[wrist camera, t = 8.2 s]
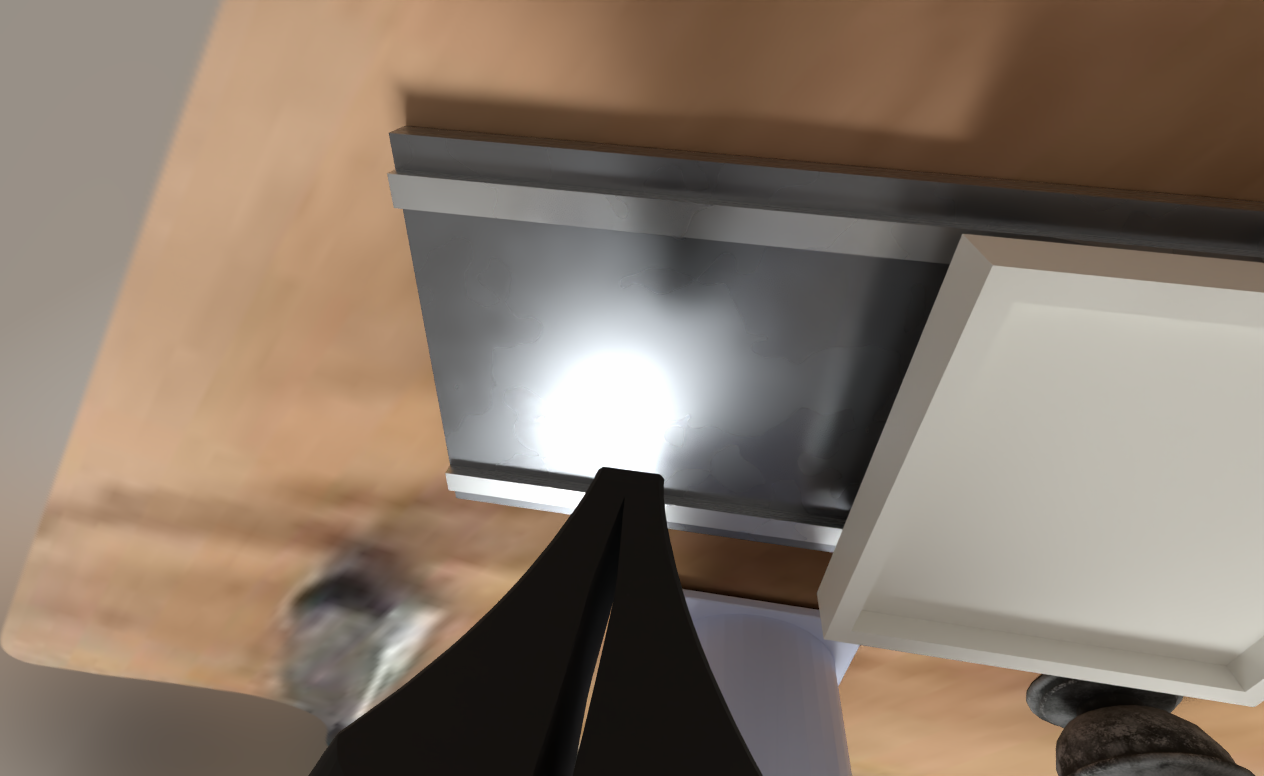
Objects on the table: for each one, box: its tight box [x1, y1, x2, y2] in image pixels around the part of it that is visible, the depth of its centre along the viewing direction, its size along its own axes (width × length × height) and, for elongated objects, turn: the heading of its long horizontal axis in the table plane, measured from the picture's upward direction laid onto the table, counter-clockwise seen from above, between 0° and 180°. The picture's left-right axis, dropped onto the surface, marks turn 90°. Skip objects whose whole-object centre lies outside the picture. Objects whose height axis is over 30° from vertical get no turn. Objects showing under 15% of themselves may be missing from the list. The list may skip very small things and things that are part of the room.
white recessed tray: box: [817, 234, 1264, 707], centre depth 13 cm, size 11×11×3 cm
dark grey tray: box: [387, 126, 1264, 552], centre depth 15 cm, size 12×24×2 cm, turn 87°
